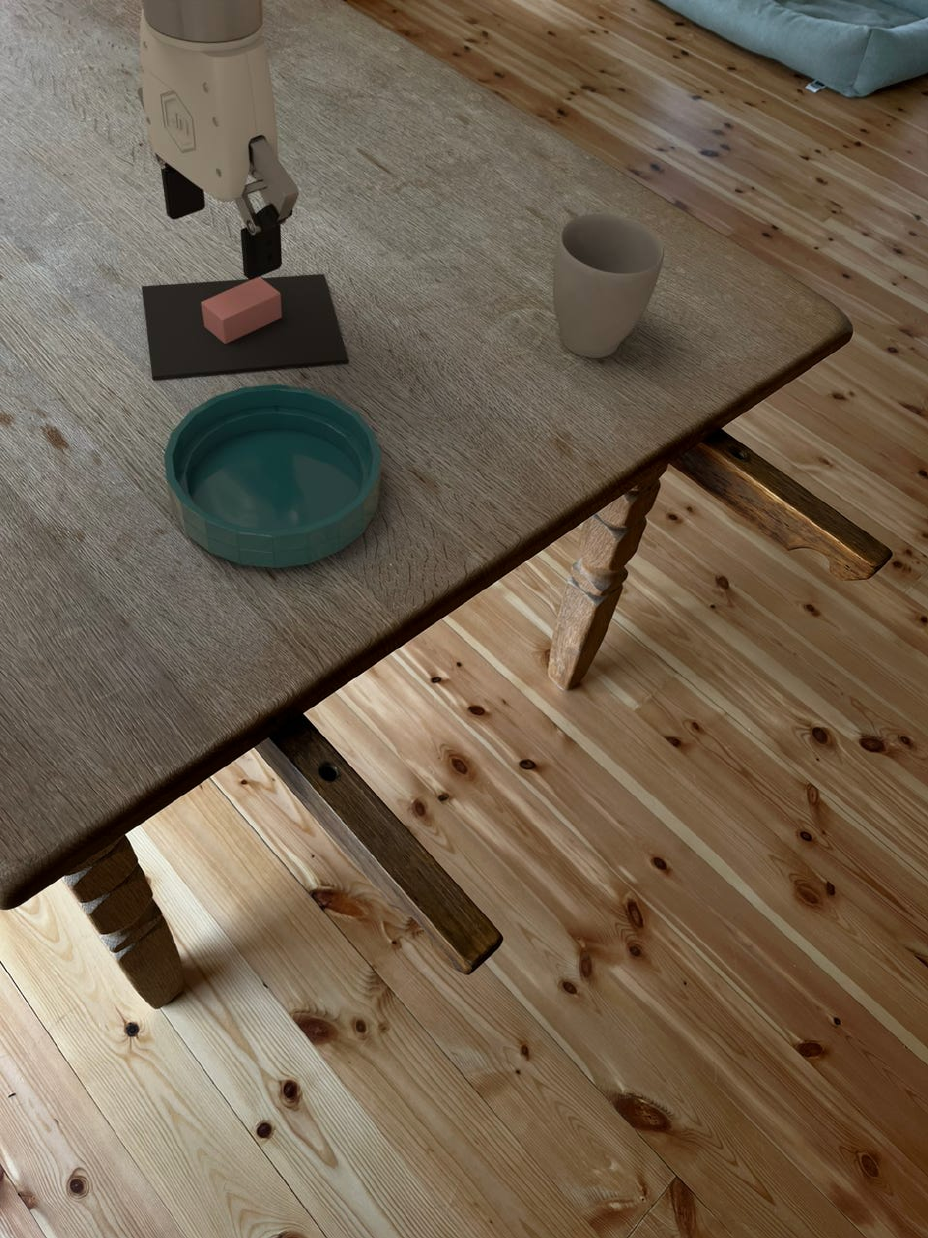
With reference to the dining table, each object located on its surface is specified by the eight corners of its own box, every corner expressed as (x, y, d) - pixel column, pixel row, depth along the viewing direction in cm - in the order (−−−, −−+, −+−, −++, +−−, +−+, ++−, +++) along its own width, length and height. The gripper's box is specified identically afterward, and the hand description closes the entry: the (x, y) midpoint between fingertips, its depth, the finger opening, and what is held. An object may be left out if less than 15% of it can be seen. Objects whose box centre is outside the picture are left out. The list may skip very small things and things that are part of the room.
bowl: (182, 586, 69) (174, 548, 66) (164, 434, 78) (156, 394, 75) (397, 557, 73) (400, 520, 70) (357, 414, 81) (358, 376, 78)
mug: (649, 369, 88) (679, 273, 81) (553, 373, 87) (573, 276, 79) (614, 285, 95) (637, 190, 88) (523, 287, 94) (540, 191, 86)
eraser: (225, 344, 84) (222, 319, 82) (203, 326, 85) (200, 301, 83) (282, 317, 87) (281, 292, 85) (260, 300, 88) (259, 275, 86)
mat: (152, 380, 81) (151, 376, 81) (142, 289, 88) (141, 285, 88) (348, 363, 85) (348, 359, 85) (324, 277, 92) (324, 273, 91)
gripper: (75, -37, 66) (118, 205, 79) (237, 70, 60) (253, 314, 73) (172, -58, 70) (197, 177, 83) (335, 41, 63) (333, 279, 77)
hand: (223, 241), depth 78 cm, fingers open, 9 cm apart
